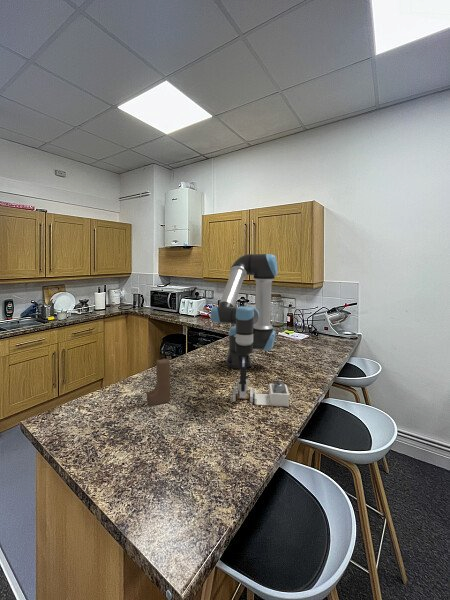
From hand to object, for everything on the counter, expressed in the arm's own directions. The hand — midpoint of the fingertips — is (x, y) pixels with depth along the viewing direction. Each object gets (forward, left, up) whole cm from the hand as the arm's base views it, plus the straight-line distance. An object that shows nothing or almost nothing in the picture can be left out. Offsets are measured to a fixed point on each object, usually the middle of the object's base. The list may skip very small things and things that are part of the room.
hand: (242, 395), depth 123 cm
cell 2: (+1, +15, -1) cm, 15 cm away
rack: (+1, +12, -2) cm, 12 cm away
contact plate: (0, 0, -3) cm, 2 cm away
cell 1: (0, 0, 0) cm, 0 cm away
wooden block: (+6, -36, -3) cm, 37 cm away
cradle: (0, 0, -2) cm, 2 cm away
